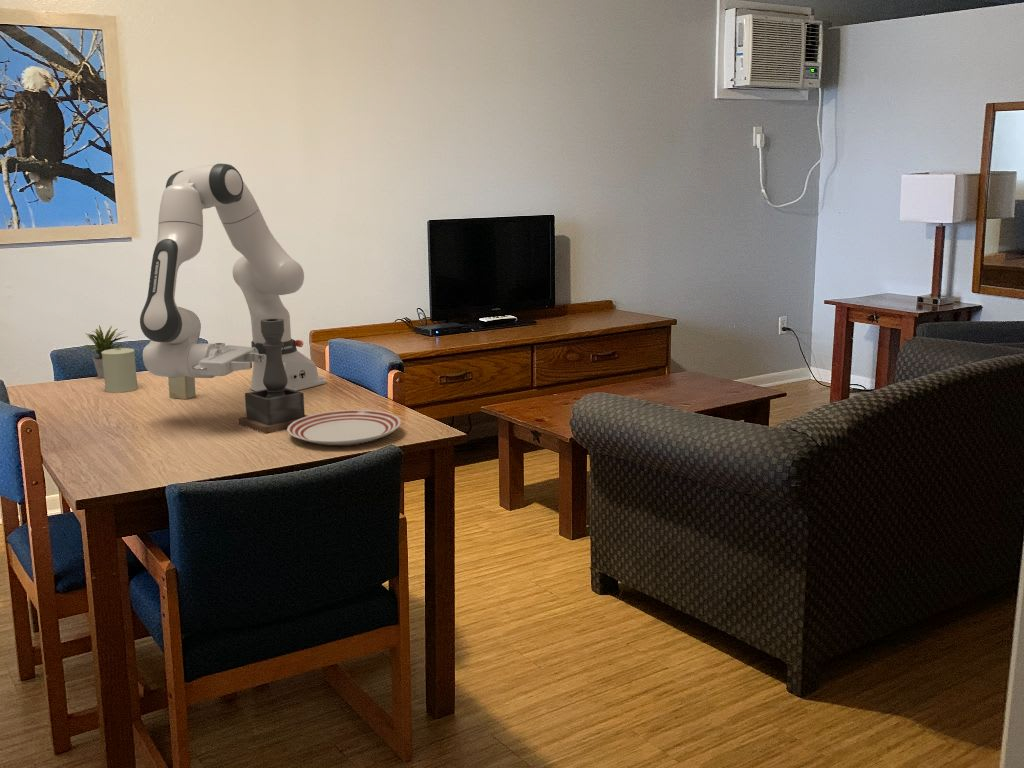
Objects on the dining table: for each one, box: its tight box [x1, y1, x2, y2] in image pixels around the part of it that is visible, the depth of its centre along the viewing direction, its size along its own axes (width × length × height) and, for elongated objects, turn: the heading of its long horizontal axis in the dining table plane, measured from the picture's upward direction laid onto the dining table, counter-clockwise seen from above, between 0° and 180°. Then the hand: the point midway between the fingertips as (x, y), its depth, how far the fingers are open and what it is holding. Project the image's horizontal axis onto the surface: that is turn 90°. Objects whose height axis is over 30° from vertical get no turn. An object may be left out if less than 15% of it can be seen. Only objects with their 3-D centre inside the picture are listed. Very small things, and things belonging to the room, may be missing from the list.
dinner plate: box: [286, 409, 402, 446], centre depth 246 cm, size 28×27×3 cm
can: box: [101, 347, 139, 393], centre depth 297 cm, size 9×9×12 cm
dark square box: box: [237, 388, 308, 434], centre depth 257 cm, size 14×13×8 cm
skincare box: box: [167, 376, 196, 400], centre depth 286 cm, size 6×4×12 cm
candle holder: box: [261, 318, 288, 399], centre depth 256 cm, size 6×6×25 cm
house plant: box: [83, 324, 129, 379], centre depth 313 cm, size 14×14×16 cm
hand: (258, 361), depth 255 cm, fingers open, 8 cm apart
